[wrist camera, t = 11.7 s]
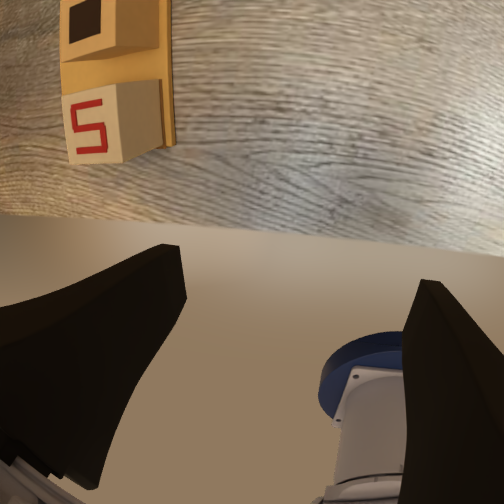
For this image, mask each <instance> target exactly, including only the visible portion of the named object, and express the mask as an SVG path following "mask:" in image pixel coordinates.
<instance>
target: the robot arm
mask: <svg viewBox="0 0 504 504" xmlns="http://www.w3.org/2000/svg"><path fill="white" fill-rule="evenodd" d="M186 300H187V295H186V290H185V282H184V276H183V269H182V262H181V255H180V248H179V246H175V245H168V244H160V245H157V246H154V247H152V248H149V249H147V250H145V251H143V252H140V253H138V254H136V255H134V256H132V257H130V258H128V259H126V260H124V261H122V262H119V263H117V264H116V265H113V266H111V267H109V268H107V269H105V270H103V271H101V272H99V273H96V274H94V275H92V276H90V277H88V278H85V279H84V280H81V281H79V282H77V283H75V284H72V285H70V286H67V287H65V288H62V289H60V290H57V291H54V292H51V293H49V294H46V295H43V296H40V297H37V298H33V299H30V300H27V301H23V302H20V303H16V304H13V305H9V306H4V307H0V504H85V503H83V502H82V501H80V500H79V499H77V498H75V497H74V496H72V495H71V494H69V493H68V492H66V491H64V490H63V489H61V488H60V487H59V486H57V485H56V484H54V483H53V482H51V481H50V480H49V479H47V477H48V476H49V474H50V473H52V474H53V475H55V476H56V477H57V478H59V479H62V478H63V476H65V477H67V478H69V479H70V480H72V481H73V482H75V483H76V484H78V485H80V486H81V487H83V488H84V489H86V490H93V489H96V488H98V485H99V481H100V477H101V474H102V470H103V467H104V463H105V460H106V457H107V453H108V450H109V448H110V445H111V442H112V439H113V437H114V434H115V431H116V429H117V427H118V424H119V422H120V419H121V417H122V415H123V412H124V410H125V408H126V406H127V404H128V402H129V399H130V397H131V395H132V393H133V391H134V389H135V387H136V385H137V383H138V382H139V380H140V378H141V376H142V375H143V373H144V371H145V370H146V369H147V367H148V365H149V364H150V362H151V361H152V359H153V358H154V356H155V355H156V353H157V352H158V350H159V349H160V347H161V346H162V344H163V343H164V341H165V339H166V338H167V336H168V335H169V333H170V331H171V330H172V328H173V327H174V325H175V324H176V321H177V319H178V317H179V315H180V313H181V311H182V309H183V307H184V304H185V302H186ZM332 426H333V427H335V428H341V434H340V441H339V448H338V454H337V461H336V467H335V472H334V485H333V486H327V487H326V490H325V495H324V497H318V498H316V499H315V500H314V501H313V502H312V503H311V504H504V355H503V354H502V353H501V352H500V351H499V349H498V348H497V347H496V346H495V345H494V344H493V343H492V341H491V340H490V339H489V338H488V337H487V336H486V334H485V333H484V332H483V331H482V330H481V328H480V327H479V326H478V325H477V324H476V322H475V321H474V320H473V319H472V318H471V316H470V315H469V314H468V313H467V312H466V310H465V309H464V308H463V307H462V305H461V304H460V303H459V302H458V301H457V300H456V298H455V297H454V296H453V295H452V294H451V293H450V292H449V290H448V289H447V288H446V287H445V286H444V285H443V284H442V283H441V282H440V281H433V280H425V279H421V280H420V284H419V287H418V290H417V293H416V296H415V299H414V301H413V304H412V307H411V310H410V313H409V315H408V318H407V321H406V323H405V326H404V329H403V331H402V370H398V369H388V368H378V367H369V366H360V365H356V366H354V367H352V369H351V371H350V374H349V377H348V380H347V383H346V386H345V389H344V391H343V394H342V397H341V400H340V402H339V405H338V408H337V410H336V413H335V415H334V418H333V421H332Z"/></svg>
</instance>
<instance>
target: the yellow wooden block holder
mask: <svg viewBox="0 0 504 504" xmlns="http://www.w3.org/2000/svg"><path fill="white" fill-rule="evenodd" d="M60 69H61V86H62V96H63V95H67V94H71V93H75V92H79V91H83V90H87V89H91V88H96V87H101V86H105V85H110V84H115V83H123V82H132V81H141V80H152V79H159V95H160V111H161V126H162V139H163V145H161V146H159V147H157V148H155V149H166V147H168V146H174V145H176V140H175V125H174V108H173V88H172V61H171V0H61V3H60Z"/></svg>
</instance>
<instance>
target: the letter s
mask: <svg viewBox="0 0 504 504" xmlns="http://www.w3.org/2000/svg"><path fill="white" fill-rule="evenodd" d="M61 100H62V111H63V120H64V128H65V136H66V143H67V150H68V156H69V162H70V165H80V164H109V163H124V162H126V161H128V160H131V159H133V158H135V157H137V156H139V155H141V154H143V153H146V152H148V151H150V150H152V149H155V148H157V147H159V146H161V145H163V139H162V126H161V111H160V95H159V79H152V80H141V81H132V82H123V83H115V84H110V85H105V86H101V87H96V88H91V89H87V90H83V91H79V92H75V93H71V94H67V95H63V96H61Z"/></svg>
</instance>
